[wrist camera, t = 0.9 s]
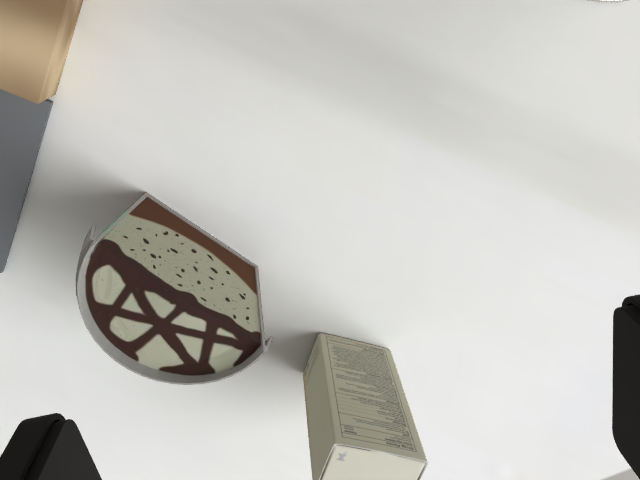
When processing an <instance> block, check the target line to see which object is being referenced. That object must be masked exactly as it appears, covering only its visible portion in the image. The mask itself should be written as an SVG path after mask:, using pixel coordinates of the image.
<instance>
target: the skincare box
mask: <svg viewBox="0 0 640 480" xmlns="http://www.w3.org/2000/svg"><path fill="white" fill-rule="evenodd" d="M303 379H304V391H305V401H306V413H307V425H308V437H309V447H310V457H311V468H312V478H313V480H420V479H421V477H422V475H423V473H424V471H425V469H426V467H427V465H428V462H427V459H426V456H425V454H424V451H423V447H422V444H421V442H420V439H419V436H418V432H417V429H416V426H415V423H414V420H413V417H412V414H411V411H410V408H409V405H408V402H407V399H406V396H405V393H404V390H403V387H402V384H401V381H400V378H399V375H398V372H397V369H396V366H395V363H394V360H393V357H392V354H391V351H390V350H389V349H385V348H382V347H378V346H374V345H370V344H366V343H362V342H358V341H354V340H350V339H346V338H342V337H338V336H333V335H328V334H323V333H319V334H318V336H317V339H316V341H315V344H314V346H313V349H312V351H311V354H310V357H309V359H308V362H307V365H306V368H305V371H304V374H303Z"/></svg>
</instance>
